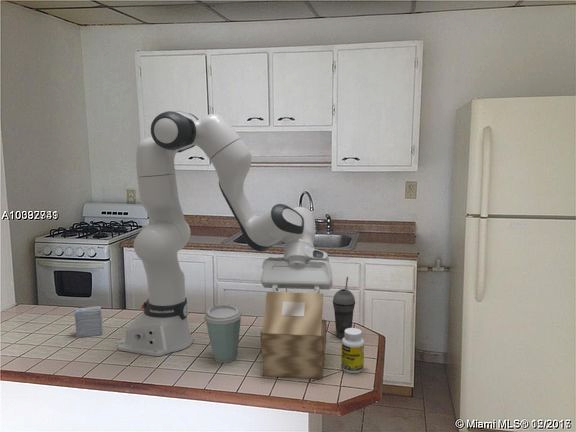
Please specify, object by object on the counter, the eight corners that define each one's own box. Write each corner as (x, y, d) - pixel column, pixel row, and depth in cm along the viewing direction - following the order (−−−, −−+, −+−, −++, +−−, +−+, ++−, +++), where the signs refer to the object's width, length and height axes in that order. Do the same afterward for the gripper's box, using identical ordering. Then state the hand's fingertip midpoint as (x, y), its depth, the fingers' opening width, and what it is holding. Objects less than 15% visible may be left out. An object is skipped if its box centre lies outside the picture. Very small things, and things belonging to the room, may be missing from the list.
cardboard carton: (260, 375, 131) (259, 333, 129) (268, 356, 143) (267, 317, 141) (323, 379, 129) (323, 336, 127) (326, 359, 140) (326, 319, 138)
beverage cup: (340, 330, 161) (340, 271, 158) (359, 335, 157) (360, 275, 154) (327, 337, 156) (328, 276, 153) (347, 342, 151) (347, 281, 148)
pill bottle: (338, 371, 133) (339, 333, 131) (344, 362, 138) (344, 325, 137) (361, 375, 130) (361, 336, 129) (365, 365, 136) (366, 328, 134)
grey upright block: (103, 330, 163) (101, 305, 162) (102, 335, 159) (100, 309, 158) (77, 333, 161) (75, 308, 159) (76, 338, 157) (74, 312, 155)
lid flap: (262, 333, 129) (261, 332, 128) (267, 292, 135) (266, 291, 134) (321, 336, 126) (320, 335, 126) (323, 294, 133) (323, 293, 132)
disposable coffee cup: (250, 358, 141) (249, 309, 139) (219, 370, 134) (217, 318, 132) (229, 347, 149) (228, 300, 146) (199, 357, 142) (197, 309, 139)
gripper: (261, 251, 140) (256, 295, 132) (332, 253, 137) (331, 297, 129) (265, 262, 145) (259, 305, 137) (333, 264, 142) (332, 307, 135)
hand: (295, 301), depth 133 cm, fingers open, 8 cm apart
